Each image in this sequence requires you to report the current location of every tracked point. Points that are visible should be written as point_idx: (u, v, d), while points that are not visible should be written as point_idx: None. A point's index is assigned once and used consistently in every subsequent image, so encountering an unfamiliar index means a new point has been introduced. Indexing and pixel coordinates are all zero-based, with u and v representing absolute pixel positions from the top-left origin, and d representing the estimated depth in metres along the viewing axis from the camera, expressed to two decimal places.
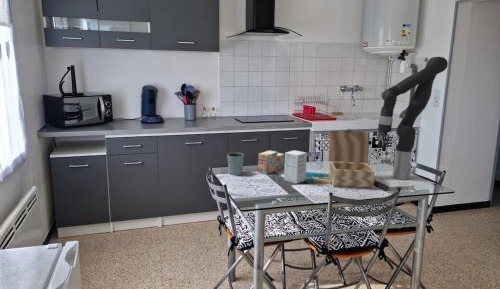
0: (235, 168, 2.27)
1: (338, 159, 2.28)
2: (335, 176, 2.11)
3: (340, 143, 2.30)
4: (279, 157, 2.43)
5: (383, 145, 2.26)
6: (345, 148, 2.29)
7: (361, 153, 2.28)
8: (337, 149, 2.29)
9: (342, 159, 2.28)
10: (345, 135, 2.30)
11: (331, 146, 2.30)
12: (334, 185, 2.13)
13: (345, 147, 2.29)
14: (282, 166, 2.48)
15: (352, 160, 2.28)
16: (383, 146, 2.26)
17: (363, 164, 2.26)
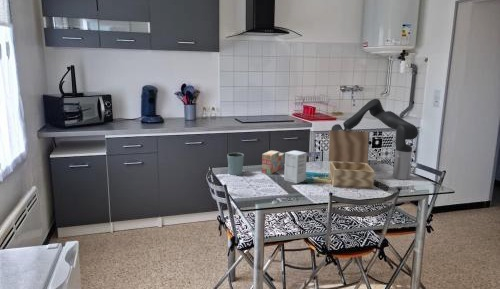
0: (235, 168, 2.27)
1: (338, 159, 2.28)
2: (335, 176, 2.11)
3: (340, 143, 2.29)
4: (280, 157, 2.44)
5: None
6: (345, 148, 2.29)
7: (361, 153, 2.28)
8: (337, 149, 2.29)
9: (342, 159, 2.28)
10: (345, 135, 2.29)
11: (332, 146, 2.29)
12: (334, 185, 2.13)
13: (345, 147, 2.29)
14: (283, 165, 2.49)
15: (352, 160, 2.28)
16: None
17: (363, 164, 2.26)
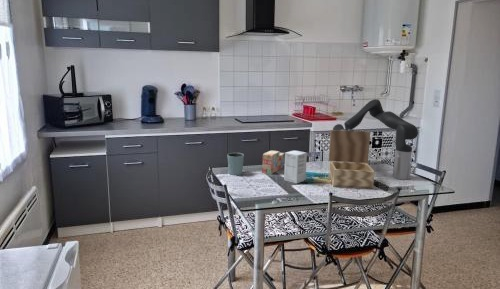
0: (235, 168, 2.27)
1: (338, 159, 2.28)
2: (335, 176, 2.11)
3: (341, 143, 2.26)
4: (281, 156, 2.44)
5: None
6: (346, 148, 2.27)
7: (361, 153, 2.27)
8: (338, 149, 2.27)
9: (342, 159, 2.28)
10: (347, 135, 2.25)
11: (332, 146, 2.27)
12: (334, 185, 2.13)
13: (346, 147, 2.27)
14: (283, 165, 2.49)
15: (352, 160, 2.28)
16: None
17: (363, 164, 2.26)
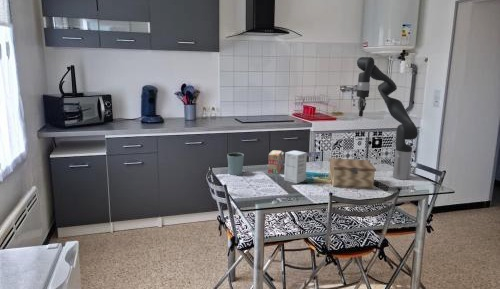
0: (235, 168, 2.27)
1: None
2: (335, 176, 2.11)
3: None
4: (282, 156, 2.47)
5: None
6: None
7: None
8: None
9: None
10: None
11: None
12: (334, 185, 2.13)
13: None
14: (283, 164, 2.52)
15: None
16: None
17: None
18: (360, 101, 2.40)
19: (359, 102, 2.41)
